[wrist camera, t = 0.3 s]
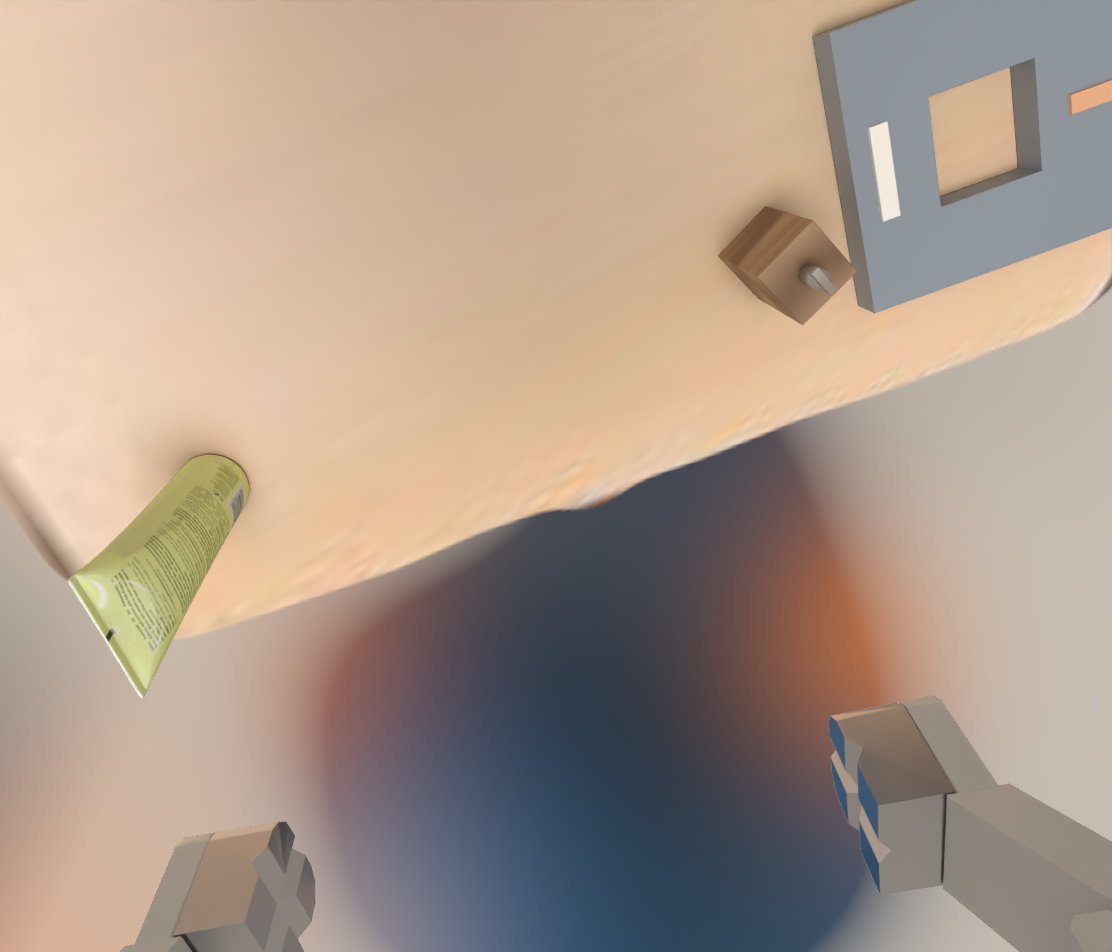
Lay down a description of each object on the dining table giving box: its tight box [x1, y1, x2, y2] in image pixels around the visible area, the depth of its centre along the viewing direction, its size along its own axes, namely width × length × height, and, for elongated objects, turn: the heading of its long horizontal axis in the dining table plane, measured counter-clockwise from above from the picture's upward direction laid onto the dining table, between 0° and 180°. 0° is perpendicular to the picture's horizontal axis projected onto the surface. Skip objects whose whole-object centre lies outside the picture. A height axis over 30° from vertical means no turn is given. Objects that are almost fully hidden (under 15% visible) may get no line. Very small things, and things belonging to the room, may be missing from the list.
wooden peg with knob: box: [719, 207, 857, 325], centre depth 51 cm, size 4×4×10 cm
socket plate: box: [813, 0, 1112, 313], centre depth 53 cm, size 18×18×3 cm
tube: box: [68, 455, 249, 698], centre depth 49 cm, size 6×5×20 cm
